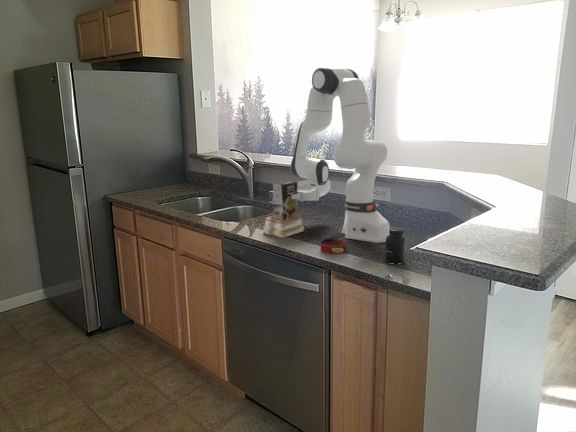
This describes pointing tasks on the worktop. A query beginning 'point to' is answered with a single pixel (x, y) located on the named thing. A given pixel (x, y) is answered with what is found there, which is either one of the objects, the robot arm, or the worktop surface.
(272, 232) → the tower base
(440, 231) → the worktop surface
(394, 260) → the supplement bottle
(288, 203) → the coffee box
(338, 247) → the canned food
